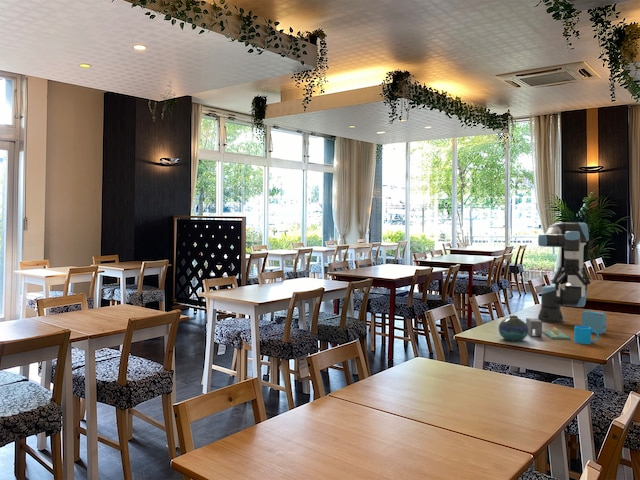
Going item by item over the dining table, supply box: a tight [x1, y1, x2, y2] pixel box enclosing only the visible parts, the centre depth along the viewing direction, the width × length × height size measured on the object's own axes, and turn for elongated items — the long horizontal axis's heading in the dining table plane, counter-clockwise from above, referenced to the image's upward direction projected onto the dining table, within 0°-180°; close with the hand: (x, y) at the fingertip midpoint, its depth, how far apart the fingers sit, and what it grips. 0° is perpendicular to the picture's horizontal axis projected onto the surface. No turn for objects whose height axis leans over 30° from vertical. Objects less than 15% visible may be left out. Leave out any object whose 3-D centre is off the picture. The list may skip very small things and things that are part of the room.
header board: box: [542, 327, 571, 340], centre depth 283 cm, size 16×10×4 cm, turn 174°
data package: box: [580, 310, 607, 335], centre depth 293 cm, size 12×4×12 cm, turn 41°
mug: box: [573, 325, 600, 345], centre depth 268 cm, size 12×8×8 cm
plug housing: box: [525, 317, 543, 338], centre depth 284 cm, size 9×6×9 cm, turn 174°
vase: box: [497, 314, 529, 342], centre depth 273 cm, size 15×15×13 cm
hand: (570, 296), depth 280 cm, fingers open, 13 cm apart
